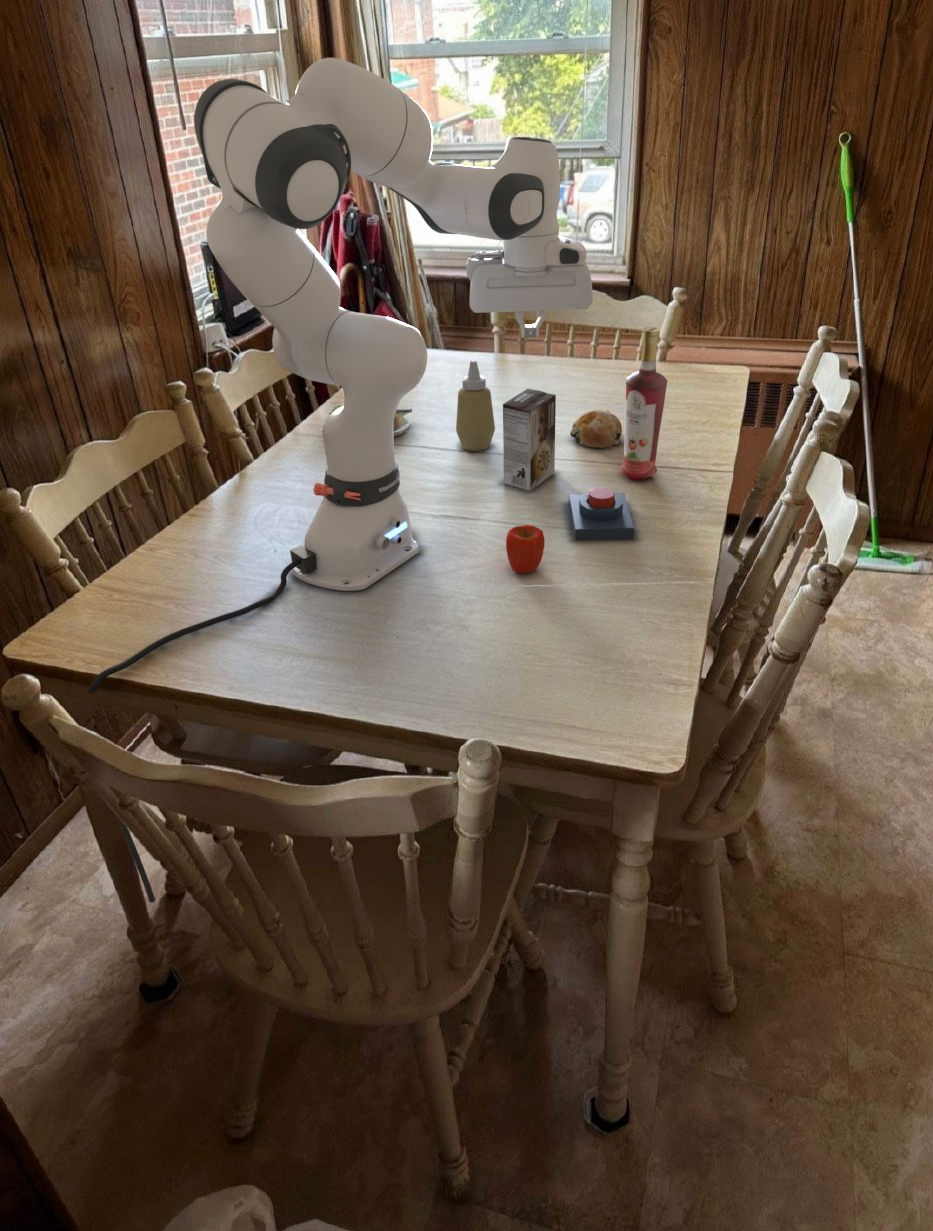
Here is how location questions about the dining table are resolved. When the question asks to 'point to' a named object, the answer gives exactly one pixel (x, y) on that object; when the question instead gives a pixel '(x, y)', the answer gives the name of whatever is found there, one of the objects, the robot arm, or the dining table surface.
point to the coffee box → (529, 438)
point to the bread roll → (597, 429)
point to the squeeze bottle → (474, 411)
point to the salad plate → (397, 420)
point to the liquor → (643, 412)
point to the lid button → (601, 497)
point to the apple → (525, 548)
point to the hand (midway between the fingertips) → (530, 336)
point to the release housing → (600, 519)
